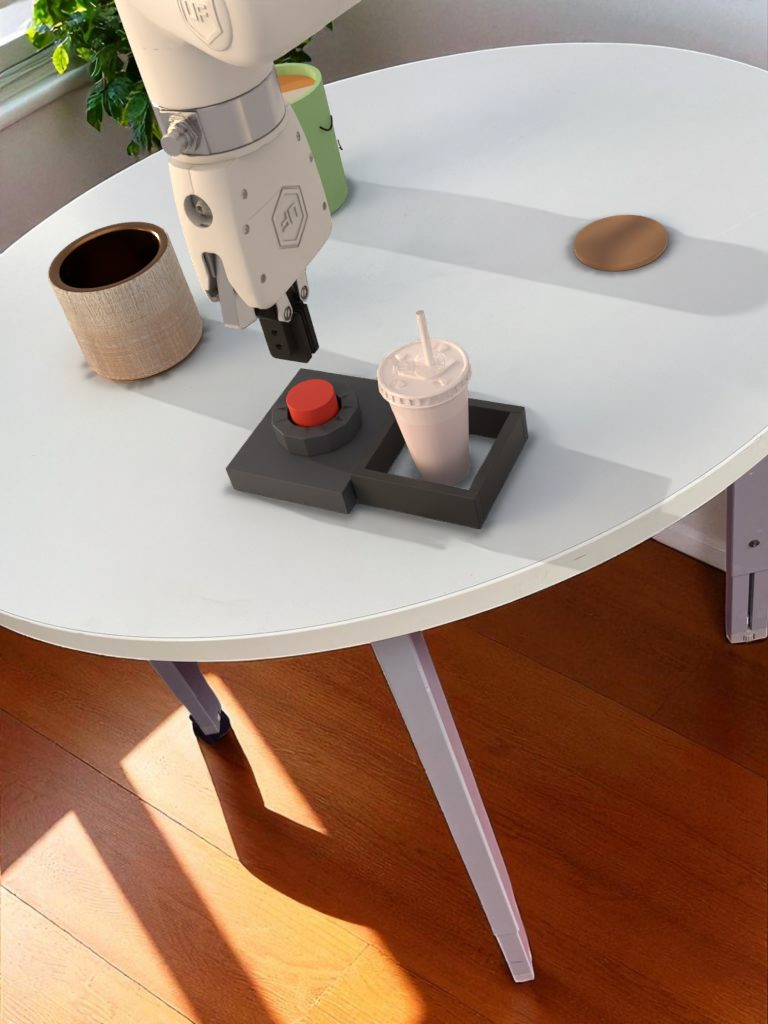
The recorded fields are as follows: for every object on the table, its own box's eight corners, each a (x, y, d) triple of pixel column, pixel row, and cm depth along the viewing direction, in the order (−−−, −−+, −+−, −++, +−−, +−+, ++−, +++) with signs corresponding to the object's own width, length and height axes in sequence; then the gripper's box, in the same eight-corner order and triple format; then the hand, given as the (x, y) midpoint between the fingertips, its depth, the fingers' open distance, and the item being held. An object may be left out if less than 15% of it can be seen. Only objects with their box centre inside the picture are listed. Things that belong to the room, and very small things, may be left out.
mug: (358, 211, 106) (331, 95, 98) (256, 237, 106) (220, 123, 98) (342, 154, 115) (316, 43, 107) (248, 178, 115) (215, 69, 107)
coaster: (678, 223, 94) (678, 217, 94) (652, 275, 90) (652, 270, 89) (590, 216, 98) (590, 211, 97) (561, 266, 93) (561, 261, 93)
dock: (529, 437, 79) (525, 406, 77) (480, 529, 73) (474, 499, 71) (412, 417, 83) (405, 387, 81) (358, 503, 78) (349, 474, 75)
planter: (66, 376, 96) (20, 287, 89) (131, 304, 102) (93, 216, 95) (164, 392, 91) (124, 299, 85) (226, 315, 98) (194, 224, 91)
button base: (416, 406, 84) (407, 366, 81) (348, 514, 77) (336, 475, 74) (307, 388, 88) (295, 350, 85) (233, 489, 81) (217, 451, 78)
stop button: (347, 400, 80) (342, 382, 79) (325, 432, 78) (319, 414, 77) (306, 393, 82) (300, 375, 81) (283, 424, 80) (277, 406, 78)
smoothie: (489, 495, 76) (462, 337, 66) (400, 506, 76) (360, 351, 67) (485, 434, 80) (459, 277, 70) (401, 445, 81) (363, 292, 71)
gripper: (206, 180, 57) (290, 432, 70) (332, 52, 66) (387, 297, 79) (98, 171, 61) (198, 414, 73) (231, 50, 69) (300, 287, 82)
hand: (295, 353), depth 76 cm, fingers closed
